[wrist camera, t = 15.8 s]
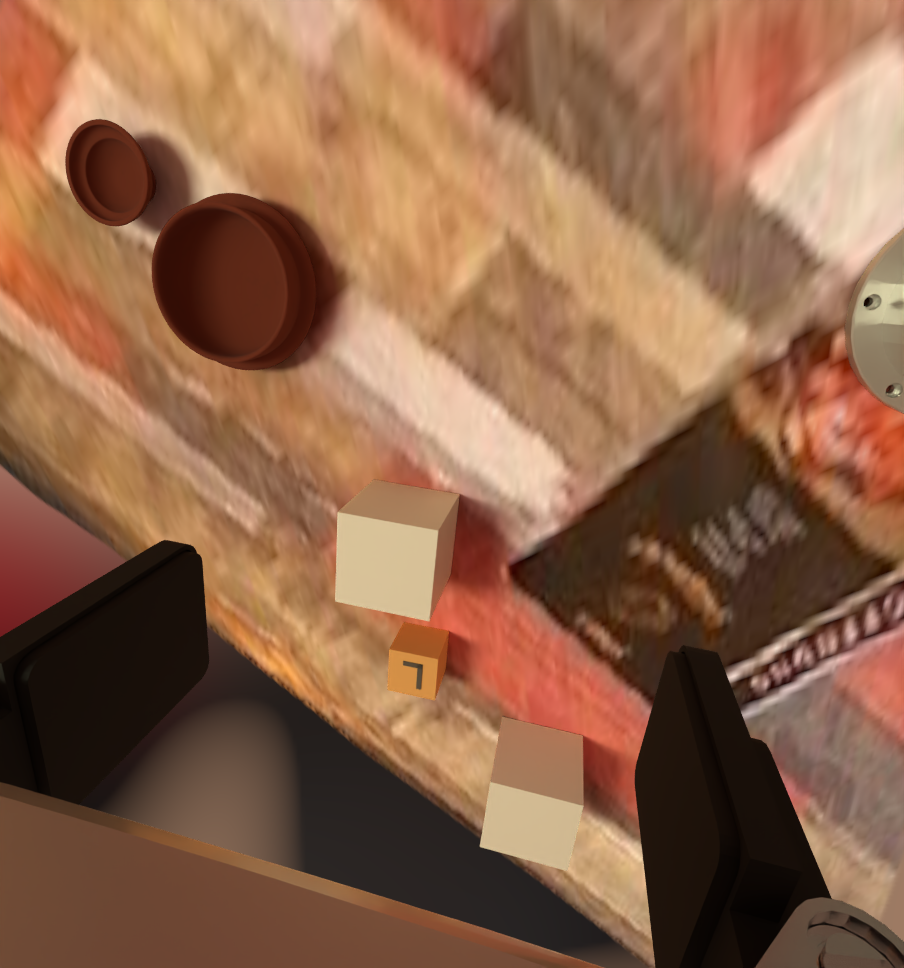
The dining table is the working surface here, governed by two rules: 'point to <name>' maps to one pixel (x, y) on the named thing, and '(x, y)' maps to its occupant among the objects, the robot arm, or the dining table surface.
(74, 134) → the pottery
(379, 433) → the dining table surface
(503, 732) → the cover empty
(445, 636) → the letter cube
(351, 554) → the cover cube
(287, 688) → the dining table surface
